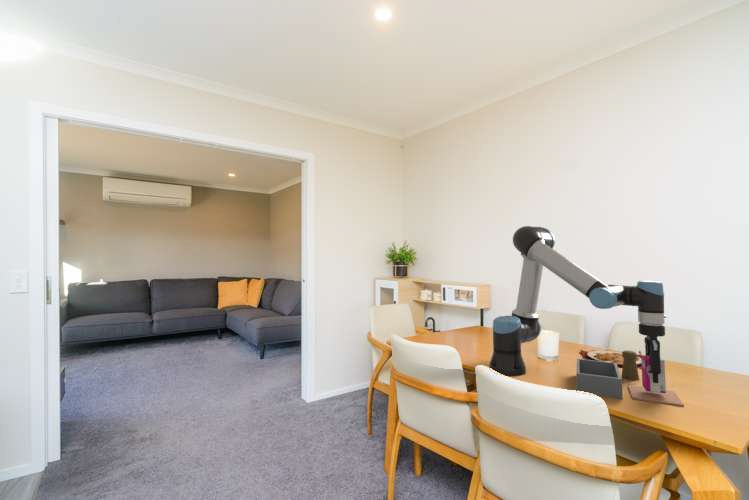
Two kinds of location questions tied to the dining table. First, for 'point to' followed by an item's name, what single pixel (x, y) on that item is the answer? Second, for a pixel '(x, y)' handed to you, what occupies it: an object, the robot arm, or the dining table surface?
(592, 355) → the plate with food
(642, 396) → the mat
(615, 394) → the rectangular frame
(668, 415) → the dining table surface
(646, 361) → the supplement box
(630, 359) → the cork
